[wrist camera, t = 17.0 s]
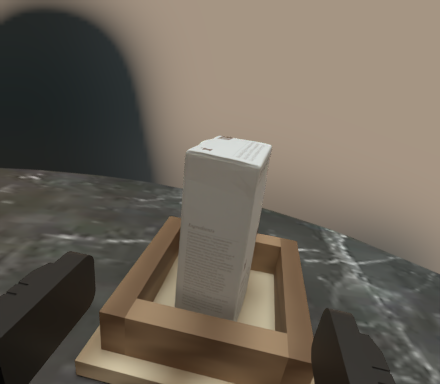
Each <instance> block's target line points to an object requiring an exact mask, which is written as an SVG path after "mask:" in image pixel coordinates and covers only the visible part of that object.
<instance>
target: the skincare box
mask: <svg viewBox="0 0 440 384" xmlns="http://www.w3.org/2000/svg"><path fill="white" fill-rule="evenodd" d="M271 150H272V146H271V145H269V144H265V143H261V142H255V141H248V140H241V139H236V138H231V137H224V136H217V137H215V138H213V139H209V140H205V141H202V142H201V143H200V144H199V145H197V146H195V147H193V148H191V149H189V150H187V152H186V158H185V169H184V183H183V197H182V212H181V227H180V241H179V253H178V267H177V280H176V294H175V307H176V308H180V309H184V310H188V311H193V312H197V313H201V314H205V315H210V316H214V317H218V318H223V319H227V320H231V321H235V322H237V320H238V317H239V314H240V311H241V308H242V305H243V301H244V297H245V294H246V290H247V285H248V280H249V274H250V269H251V263H252V258H253V252H254V247H255V241H256V236H257V232H258V225H259V219H260V214H261V208H262V203H263V197H264V191H265V186H266V179H267V172H268V165H269V160H270V155H271Z"/></svg>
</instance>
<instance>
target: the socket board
mask: <svg viewBox="0 0 440 384" xmlns="http://www.w3.org/2000/svg"><path fill="white" fill-rule="evenodd" d="M180 227H181V218H177V217H172V216H170V217H169V218H168V220H167V221H166V222H165V224H164V225H163V227H162V228H161V229H160V231H159V232H158V233H157V235H156V236H155V237H154V239H153V240H152V241H151V243H150V244H149V245H148V247H147V248H146V249H145V251H144V252H143V253H142V255H141V256H140V257H139V259H138V260H137V262H136V263H135V264H134V266H133V267H132V268H131V270H130V271H129V272H128V274H127V275H126V276H125V278H124V279H123V280H122V282H121V283H120V284H119V286H118V287H117V288H116V290H115V291H114V293H113V294H112V295H111V297H110V298H109V299H108V301H107V302H106V303H105V305H104V306H103V307H102V309H101V310H100V311H99V317H100V325H99V327H98V328H97V330H96V331H95V333H94V334H93V335H92V337H91V338H90V340H89V341H88V343H87V344H86V345H85V347H84V348H83V350H82V351H81V353H80V354H79V355H78V357H77V358H76V360H75V366H76V374H77V375H80V376H84V377H88V378H91V379H95V380H99V381H102V382H106V383H110V384H315V383H314V376H313V370H312V363H311V347H312V342H313V339H314V338H313V333H312V327H311V321H310V315H309V310H308V304H307V298H306V292H305V286H304V281H303V275H302V269H301V263H300V258H299V252H298V246H297V241H293V240H288V239H283V238H278V237H273V236H268V235H263V234H258V233H257V236H256V241H255V247H254V252H253V258H252V263H251V269H250V274H249V280H248V285H247V290H246V294H245V297H244V301H243V305H242V308H241V311H240V314H239V317H238V320H237V322H235V321H231V320H227V319H223V318H218V317H214V316H210V315H205V314H201V313H197V312H193V311H188V310H184V309H180V308H176V307H175V294H176V280H177V267H178V253H179V241H180Z"/></svg>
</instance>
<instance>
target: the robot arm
mask: <svg viewBox="0 0 440 384" xmlns="http://www.w3.org/2000/svg"><path fill="white" fill-rule="evenodd" d="M94 296H95V272H94V259H93V257H92V256H90V255H86V254H81V253H77V252H72V251H70V252H67V253H66V254H64V255H63V256H62V257H61V258H60V259H58V260H57V261H56V262H55V263H48V264H46V265H44V266H42V267H40V268H37V269H35V270H33V271H32V272H30V273H29V274H28V275H27V276H25V277H24V278H23V279H22V280H20V281H19V283H18V284H15V285H14V286H13V287H12V288H10V289H9V290H8V291H7V293H6V294H3V295H2V296H0V384H29V382H30V381H31V380H32V379H33V377H34V376H35V375H36V374H37V372H38V371H39V370H40V369H41V367H42V366H43V365H44V364H45V362H46V361H47V360H48V359H49V357H50V356H51V355H52V354H53V352H54V351H55V350H56V349H57V347H58V346H59V345H60V344H61V342H62V341H63V340H64V338H65V337H66V336H67V335H68V333H69V332H70V331H71V330H72V328H73V327H74V326H75V325H76V323H77V322H78V321H79V320H80V318H81V317H82V316H83V315H84V313H85V312H86V311H87V310H88V308H89V307H90V305H91V303H92V301H93V299H94ZM311 363H312V370H313V376H314V383H315V384H395V381H394V379H393V377H392V374H390V370H389V367H388V365H387V363H386V360H385V358H384V355H383V353H382V351H381V350H380V349H379V348H378V346H377V345H376V344H375V343H374V341H373V340H372V339H371V338H370V336H369V335H365V334H361V333H359V330H358V327H357V324H356V322H355V319H354V317H353V315H352V314H351V313H347V312H342V311H338V310H333V309H329V308H326V309H325V310H324V312H323V314H322V317H321V320H320V323H319V325H318V328H317V331H316V334H315V336H314V339H313V342H312V347H311Z"/></svg>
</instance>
